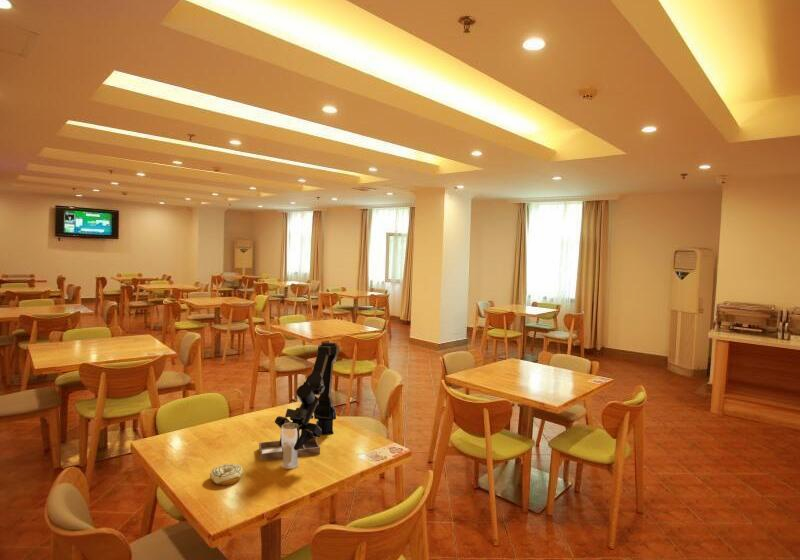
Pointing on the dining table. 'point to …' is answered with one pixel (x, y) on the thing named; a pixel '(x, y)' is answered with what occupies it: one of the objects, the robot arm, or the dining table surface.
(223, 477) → the decorated donut
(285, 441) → the metal cup
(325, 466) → the dining table surface
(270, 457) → the box
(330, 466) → the dining table surface
